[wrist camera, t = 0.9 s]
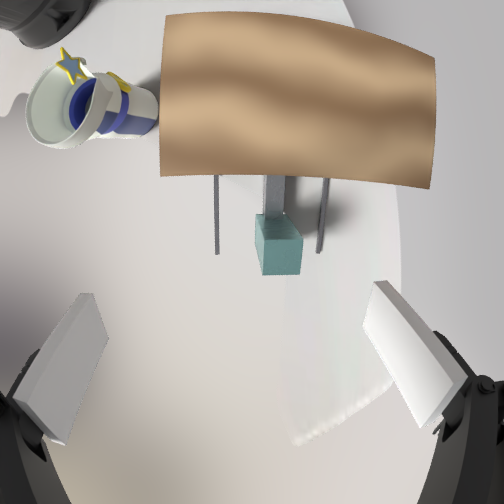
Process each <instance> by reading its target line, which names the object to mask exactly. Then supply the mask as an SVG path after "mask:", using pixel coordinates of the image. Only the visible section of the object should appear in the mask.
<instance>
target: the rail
mask: <svg viewBox="0 0 504 504" xmlns="http://www.w3.org/2000/svg"><path fill="white" fill-rule="evenodd" d="M218 189H219V187H218V175H214V219H215V254H216V255H218V254H219V198H218V197H219V193H218V191H219V190H218ZM327 189H328V178H323V189H322V200H321V210H320V220H319V229H318V237H317V246H316V253H320V250H321V243H322V235H323V227H324V218H325V209H326V199H327Z"/></svg>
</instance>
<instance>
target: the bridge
mask: <svg viewBox="0 0 504 504" xmlns="http://www.w3.org/2000/svg"><path fill="white" fill-rule="evenodd" d="M435 128H436V74H435V60H434V58H433V57H431V56H429V55H427V54H425V53H423V52H420V51H418V50H416V49H413V48H411V47H409V46H406V45H403V44H401V43H398V42H396V41H393V40H390V39H387V38H385V37H382V36H378V35H376V34H372V33H369V32H366V31H362V30H359V29H355V28H352V27H348V26H344V25H340V24H335V23H331V22H326V21H321V20H316V19H310V18H304V17H298V16H290V15H282V14H272V13H259V12H231V11H226V12H197V13H184V14H175V15H166V20H165V28H164V38H163V49H162V63H161V80H160V111H159V145H160V176H161V177H162V176H183V175H284V176H305V177H322V178H336V179H348V180H358V181H368V182H378V183H386V184H394V185H402V186H409V187H416V188H423V189H429V187H430V181H431V174H432V165H433V155H434V144H435Z"/></svg>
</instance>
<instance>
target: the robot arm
mask: <svg viewBox="0 0 504 504" xmlns="http://www.w3.org/2000/svg"><path fill="white" fill-rule="evenodd" d="M90 3H91V0H0V28H1V29H5V30H9V31H12V33H14V34H15V35H16V36H17V37H18V38H19V40H20V42H21V43H22V44H23V45H25V46H27V47H30V48H33V49H43V48H46V47H49V46H51V45H53V44H54V43H56V42H58V41H59V40H61V39H62V38H63V37H64V36H66V35H67V34H68V33H69V32H70V31H71V30H72V29H73V28H74V27H75V26H76V25H77V24H78V22H79V21H80V20H81V18H82V17H83V16H84V14H85V13H86V11H87V9H88V7H89V5H90ZM363 329H364V331H365V332H366V334H367V336H368V337H369V339H370V341H371V342H372V344H373V346H374V347H375V349H376V351H377V352H378V354H379V356H380V357H381V359H382V361H383V363H384V364H385V366H386V368H387V369H388V371H389V373H390V375H391V376H392V378H393V380H394V382H395V383H396V385H397V387H398V389H399V391H400V392H401V394H402V396H403V398H404V400H405V402H406V403H407V405H408V407H409V409H410V411H411V412H412V415H413V416H414V418H415V420H416V422H417V424H418V426H419V428H423V427H425V426H427V425H430V424H432V423H434V422H435V421H436V420H437V418H438V417H439V416H440V415H441V413H442V415H443V417H444V419H443V421H442V422H441V423H440V424H439V425H438V426H437V428H436V429H435V430H434V432H433V434H436V432H437V431H438V430H439V429H440V431H439V434H438V440H437V444H436V448H435V452H434V455H433V459H432V462H431V466H430V469H429V472H428V475H427V479H426V482H425V484H424V487H423V490H422V493H421V495H420V498H419V500H418V503H417V504H504V381H498V382H494V381H493V380H492V379H491V378H490V377H488V376H485V375H479V376H477V375H476V374H475V373H474V372H473V371H472V369H471V368H470V367H469V365H468V364H467V363H466V362H465V360H464V359H463V358H462V357H461V355H460V354H459V353H457V351H456V349H455V348H454V347H453V346H452V344H451V343H450V342H449V341H448V340H447V338H446V337H445V336H443V335H442V334H440V333H439V332H437V331H433V332H432V331H431V329H430V328H429V327H428V326H427V325H426V323H425V322H424V321H423V320H422V319H421V318H420V316H419V315H418V314H417V313H416V312H415V311H414V310H413V308H412V307H411V306H410V305H409V304H408V303H407V302H406V301H405V300H404V299H403V297H402V296H401V295H400V294H399V293H398V292H397V291H396V290H395V289H394V288H393V286H392V285H391V284H390V283H389V282H388V281H387V280H386V281H376V282H374V283H373V287H372V292H371V296H370V300H369V304H368V308H367V312H366V316H365V320H364V323H363ZM108 340H109V337H108V335H107V332H106V329H105V327H104V324H103V321H102V318H101V316H100V313H99V310H98V307H97V304H96V301H95V298H94V295H93V294H92V293H80V295H79V296H78V297H77V298H76V300H75V301H74V302H73V304H72V305H71V306H70V308H69V309H68V310H67V312H66V313H65V315H64V316H63V317H62V319H61V320H60V322H59V323H58V324H57V326H56V327H55V329H54V330H53V332H52V333H51V335H50V336H49V338H48V339H47V341H46V342H45V344H44V345H43V347H42V348H41V349H38V350H37V351H36V352H34V353H33V354H32V355H31V356H30V357H29V359H28V360H27V362H26V364H25V366H24V367H23V368H22V370H21V373H20V374H19V375H18V377H17V379H16V380H15V382H14V384H13V385H12V387H11V389H10V391H9V393H8V394H7V396H6V398H5V397H4V395H3V394H2V393H1V391H0V504H71V502H70V500H69V499H68V496H67V494H66V492H65V490H64V488H63V486H62V484H61V481H60V479H59V477H58V475H57V472H56V470H55V467H54V465H53V462H52V460H51V457H50V454H49V452H48V449H47V446H46V443H45V442H44V440H43V439H42V436H43V434H45V435H46V436H47V437H48V438H49V439H50V440H51V441H53V442H56V443H59V444H62V445H65V446H66V445H67V441H68V438H69V435H70V432H71V430H72V427H73V424H74V421H75V418H76V416H77V413H78V410H79V408H80V405H81V402H82V400H83V397H84V395H85V392H86V390H87V387H88V385H89V382H90V380H91V378H92V375H93V373H94V371H95V368H96V366H97V364H98V361H99V359H100V357H101V355H102V353H103V350H104V348H105V346H106V344H107V342H108Z"/></svg>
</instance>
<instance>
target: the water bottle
mask: <svg viewBox="0 0 504 504" xmlns="http://www.w3.org/2000/svg"><path fill="white" fill-rule="evenodd" d="M60 51H61V56H62V59H61V60H58V61H56V62H54V63H53V64H51V65H50V66H49V67H48V68H47V69H46V70H45V71H44V72H43V73H42V74H41V76H40V77H39V78H38V80H37V81H36V83H35V85H34V86H33V88H32V90H31V92H30V94H29V97H28V100H27V105H26V122H27V127H28V129H29V132H30V134H31V135H32V137H33V138H34V139H35V140H36V141H37V142H39V143H41V144H43V145H46V146H49V147H53V148H60V149H68V148H72V147H75V146H78V145H80V144H81V143H83V142H84V141H86V140H90V139H94V138H97V137H100V138H128V139H133V138H138V137H140V136H142V135H144V134H146V133H147V132H148V131H149V130H150V129H151V128H152V127H153V125H154V124H155V122H156V119H157V116H158V103H157V100H156V98H155V96H154V95H153V94H152V93H151V92H150V91H148V90H147V89H144V88H141V87H138V86H135V85H132V84H130V83H128V82H125V81H123V80H122V79H121V78H119V77H118V76H117V75H115V74H113V73H112V72H107V73H106V74H105V73H92V74H91V73H90V72H89V71H88V70H87V69H86V68H85V67H84V66H83V65H86V60H85V59H84V58H80V57H71V56H70V55H69V54H68V53H67V52H66V51H65V49H64V48H63V47H61V48H60Z"/></svg>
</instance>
